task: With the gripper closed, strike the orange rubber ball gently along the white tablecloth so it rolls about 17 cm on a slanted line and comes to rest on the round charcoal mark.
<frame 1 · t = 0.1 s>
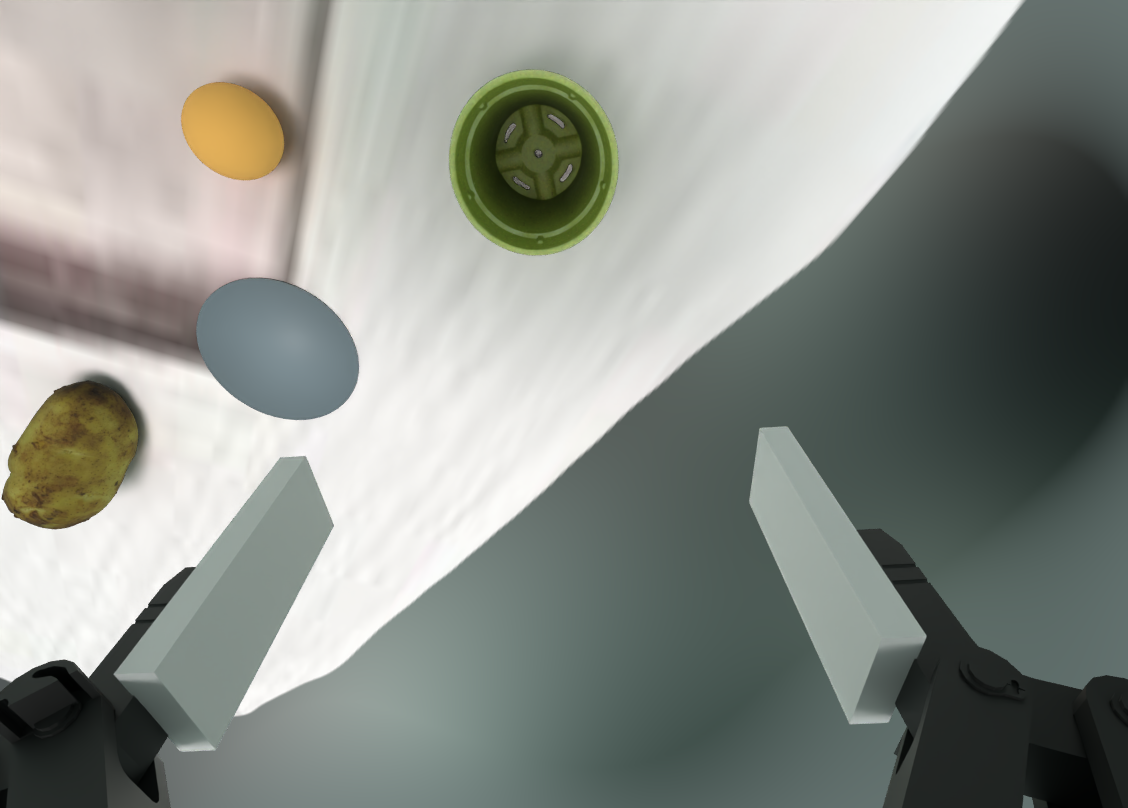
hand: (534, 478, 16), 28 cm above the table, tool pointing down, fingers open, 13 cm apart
potato: (110, 431, 48), on the table
ball: (234, 133, 33), on the table
plant pot: (540, 153, 37), on the table
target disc: (279, 353, 44), on the table
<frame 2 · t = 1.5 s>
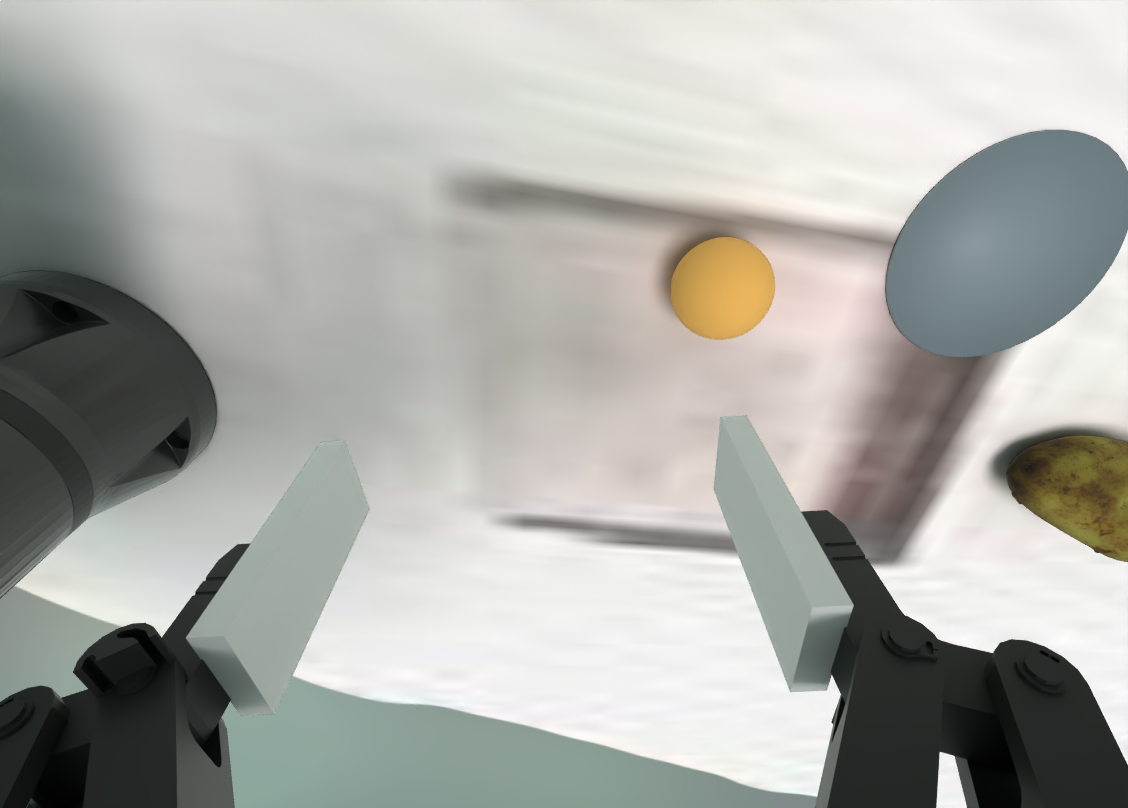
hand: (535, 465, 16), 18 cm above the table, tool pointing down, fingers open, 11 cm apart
potato: (1075, 464, 39), on the table
ball: (721, 289, 29), on the table
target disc: (1002, 255, 31), on the table
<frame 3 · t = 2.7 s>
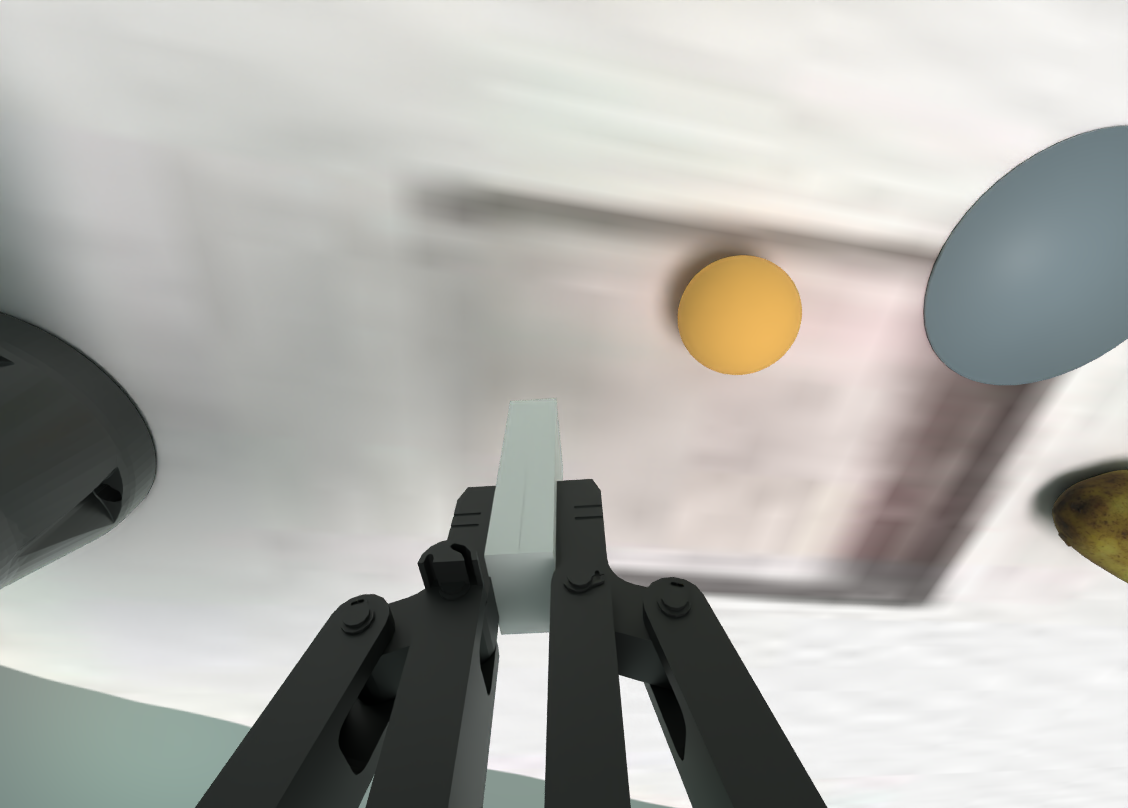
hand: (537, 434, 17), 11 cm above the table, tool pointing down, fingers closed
potato: (1126, 498, 35), on the table
ball: (737, 316, 25), on the table
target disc: (1059, 270, 26), on the table
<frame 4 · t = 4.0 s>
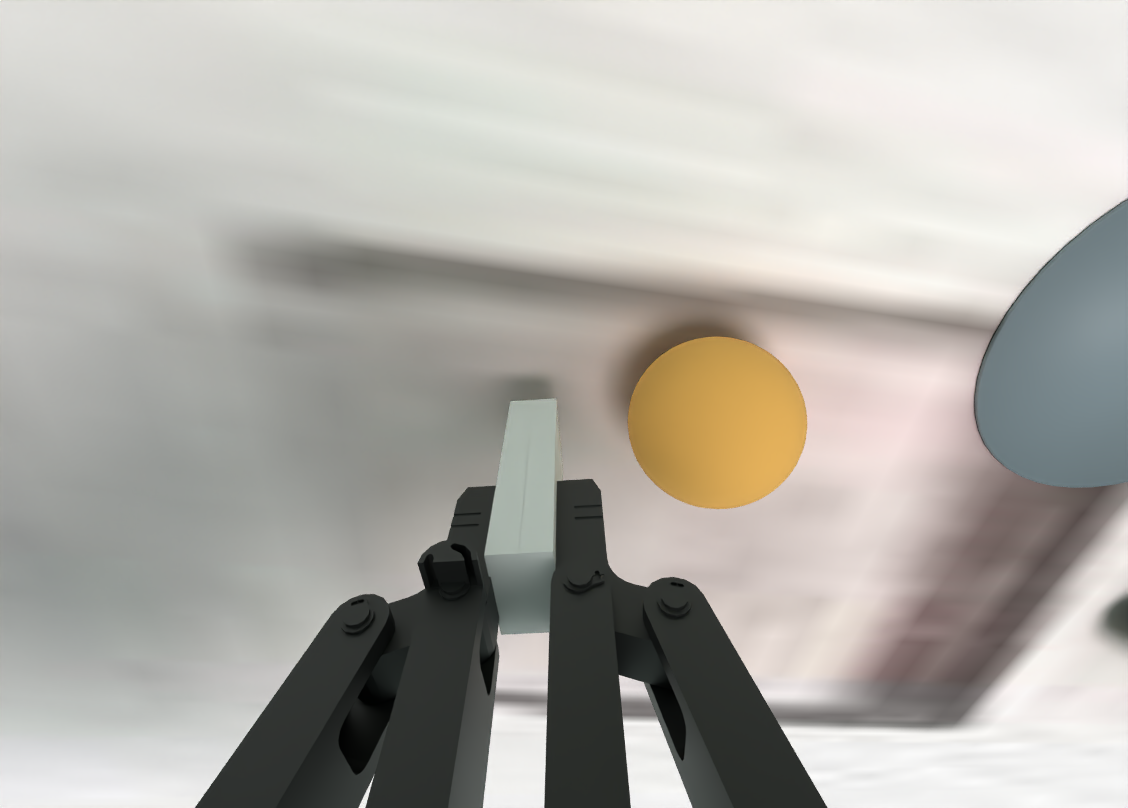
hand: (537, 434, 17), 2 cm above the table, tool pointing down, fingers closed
ball: (713, 422, 17), on the table
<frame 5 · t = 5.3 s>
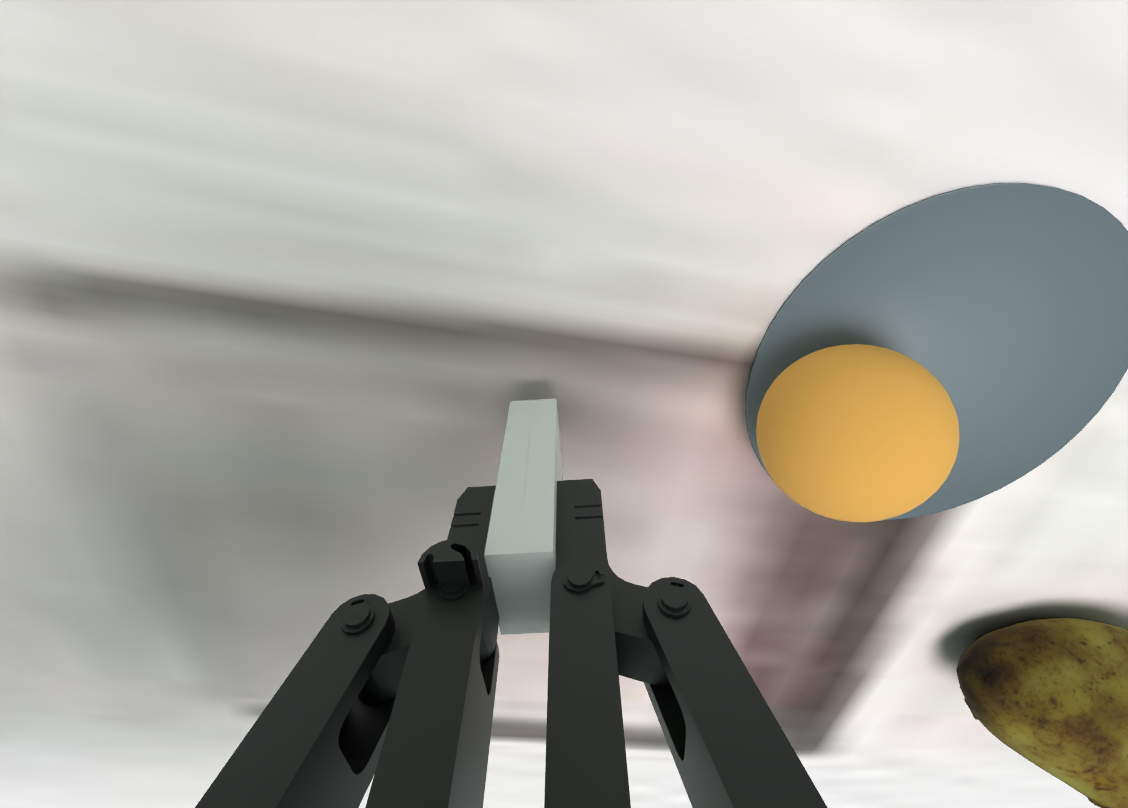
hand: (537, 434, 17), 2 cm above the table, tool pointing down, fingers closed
potato: (1060, 643, 27), on the table
ball: (849, 432, 16), on the table
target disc: (931, 379, 19), on the table
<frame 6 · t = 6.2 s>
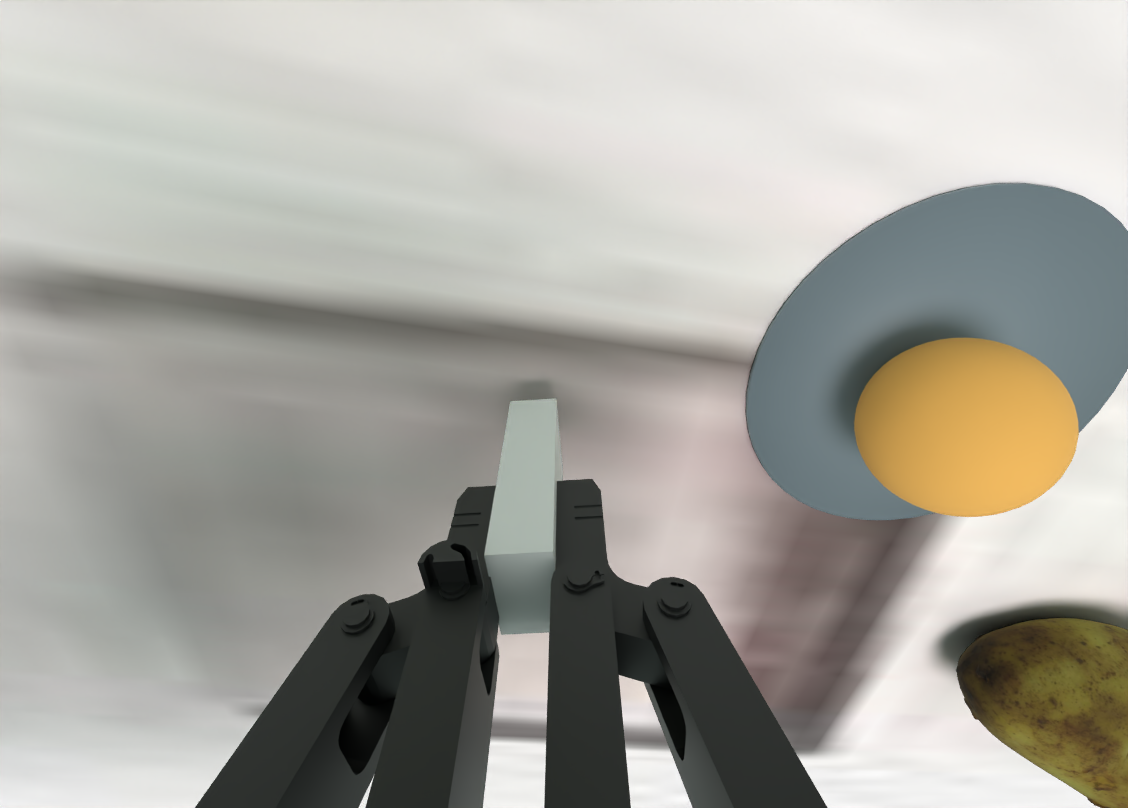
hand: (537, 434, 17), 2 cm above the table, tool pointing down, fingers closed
potato: (1060, 643, 27), on the table
ball: (955, 426, 16), on the table
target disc: (931, 379, 19), on the table
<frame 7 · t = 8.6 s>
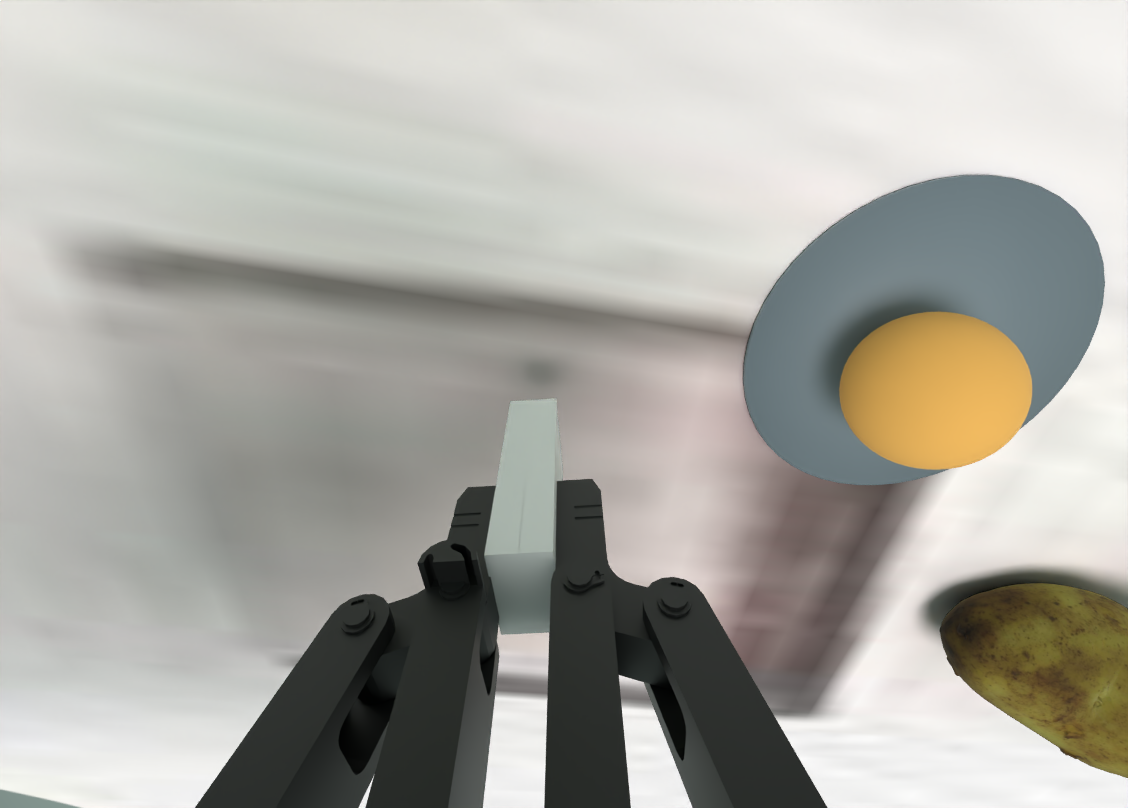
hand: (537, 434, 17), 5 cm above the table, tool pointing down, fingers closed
potato: (1040, 610, 29), on the table
ball: (927, 390, 18), on the table
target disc: (911, 353, 21), on the table
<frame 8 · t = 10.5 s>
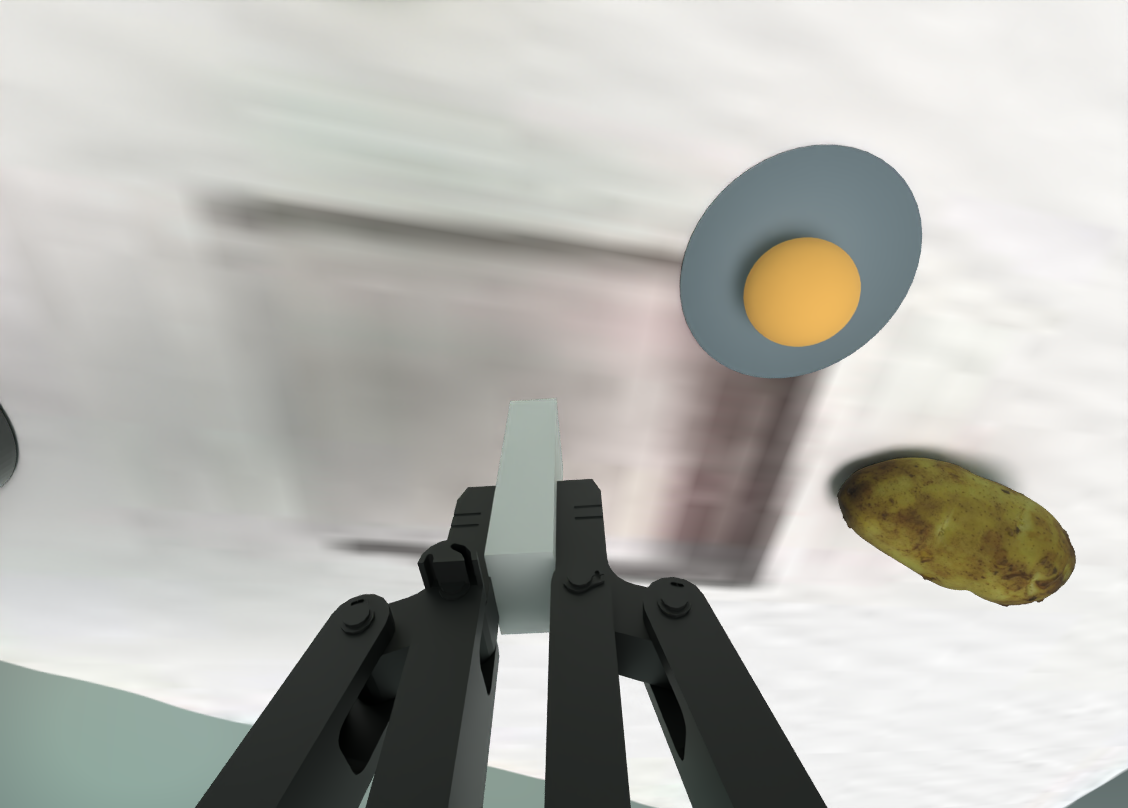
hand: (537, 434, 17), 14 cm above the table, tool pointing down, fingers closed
potato: (917, 485, 37), on the table
ball: (799, 293, 27), on the table
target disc: (796, 273, 29), on the table
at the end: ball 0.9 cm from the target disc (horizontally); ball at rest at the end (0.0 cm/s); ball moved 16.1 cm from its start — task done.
